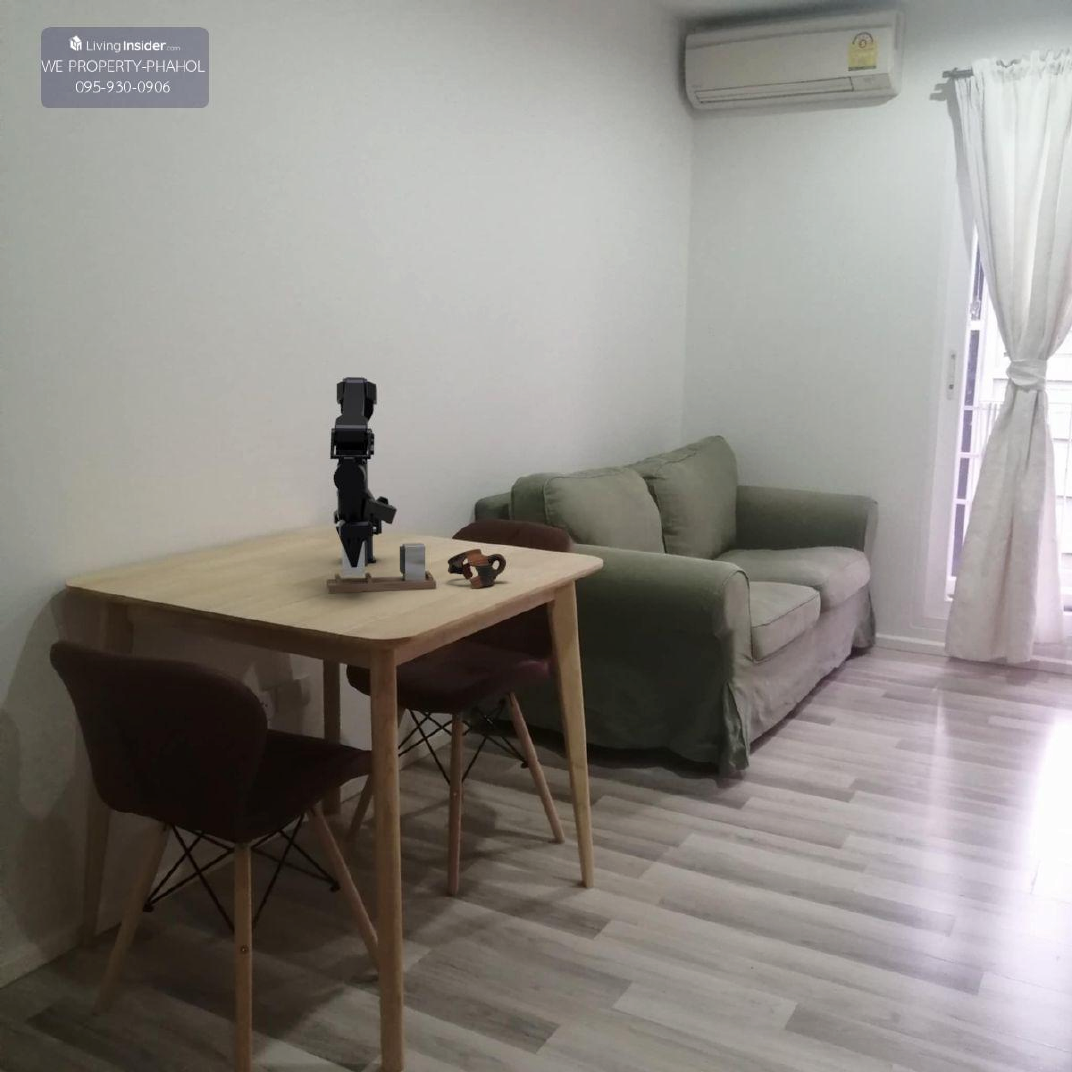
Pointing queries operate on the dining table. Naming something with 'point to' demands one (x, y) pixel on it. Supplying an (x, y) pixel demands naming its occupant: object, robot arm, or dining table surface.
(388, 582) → the rail
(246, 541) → the dining table surface
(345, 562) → the block
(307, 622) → the dining table surface
